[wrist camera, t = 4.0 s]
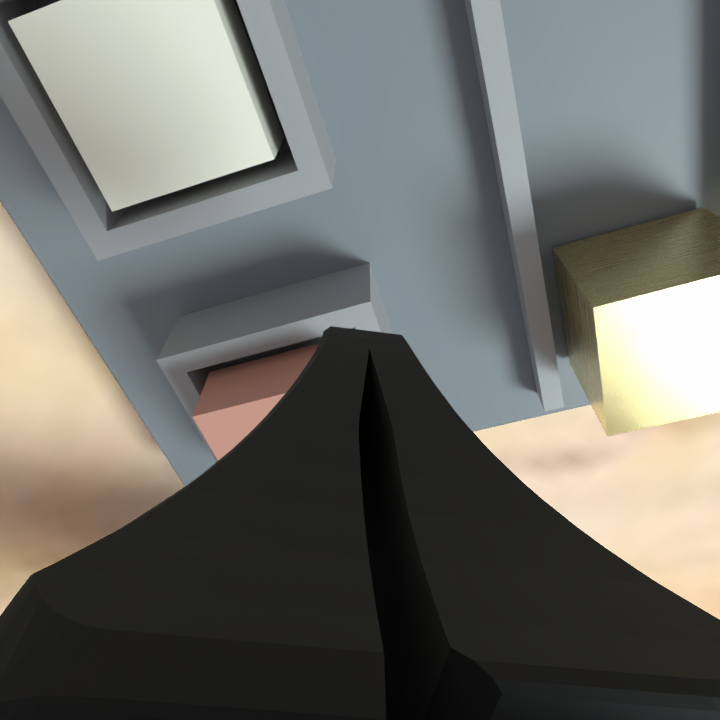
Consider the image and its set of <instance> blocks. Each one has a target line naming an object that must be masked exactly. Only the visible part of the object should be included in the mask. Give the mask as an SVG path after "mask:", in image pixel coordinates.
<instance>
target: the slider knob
mask: <svg viewBox="0 0 720 720" xmlns="http://www.w3.org/2000/svg"><path fill="white" fill-rule="evenodd" d="M553 254H554V261H555V267H556V274H557V281H558V288H559V295H560V302H561V309H562V316H563V323H564V330H565V337H566V344H567V351H568V358H569V364H570V366H571V367H572V369H573V371H574V373H575V375H576V377H577V379H578V381H579V383H580V385H581V387H582V388H583V390H584V392H585V394H586V396H587V398H588V400H589V402H590V404H591V406H592V408H593V409H594V411H595V413H596V415H597V417H598V419H599V421H600V423H601V425H602V427H603V429H604V430H605V432H606V434H607V436H612V435H616V434H621V433H625V432H630V431H634V430H639V429H644V428H648V427H653V426H657V425H662V424H666V423H671V422H675V421H680V420H684V419H689V418H693V417H698V416H703V415H707V414H712V413H716V412H720V217H718V216H717V215H715V214H714V213H713V212H711V211H710V210H708V209H707V208H705V207H701V208H697V209H693V210H690V211H686V212H682V213H679V214H675V215H672V216H668V217H664V218H661V219H657V220H653V221H650V222H646V223H642V224H639V225H635V226H632V227H628V228H624V229H621V230H617V231H613V232H610V233H606V234H602V235H599V236H595V237H591V238H588V239H584V240H581V241H577V242H573V243H570V244H566V245H562V246H559V247H555V248H553Z"/></svg>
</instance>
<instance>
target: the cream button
mask: <svg viewBox="0 0 720 720" xmlns="http://www.w3.org/2000/svg"><path fill="white" fill-rule="evenodd" d="M8 23H9V25H10V26H11V28H12V30H13V32H14V34H15V36H16V37H17V39H18V41H19V43H20V45H21V47H22V48H23V50H24V52H25V54H26V56H27V57H28V59H29V61H30V63H31V65H32V67H33V68H34V70H35V72H36V74H37V76H38V78H39V79H40V81H41V83H42V85H43V87H44V88H45V90H46V92H47V94H48V96H49V98H50V99H51V101H52V103H53V105H54V107H55V108H56V110H57V112H58V114H59V116H60V118H61V119H62V121H63V123H64V125H65V127H66V129H67V130H68V132H69V134H70V136H71V138H72V139H73V141H74V143H75V145H76V147H77V149H78V150H79V152H80V154H81V156H82V158H83V159H84V161H85V163H86V165H87V167H88V169H89V170H90V172H91V174H92V176H93V178H94V180H95V181H96V183H97V185H98V187H99V189H100V190H101V192H102V194H103V196H104V198H105V200H106V201H107V203H108V205H109V207H110V209H111V211H112V212H113V211H116V210H119V209H122V208H125V207H128V206H131V205H135V204H138V203H141V202H144V201H147V200H150V199H153V198H156V197H159V196H162V195H166V194H169V193H172V192H175V191H178V190H181V189H184V188H187V187H190V186H193V185H196V184H200V183H203V182H206V181H209V180H212V179H215V178H218V177H221V176H224V175H227V174H230V173H234V172H237V171H240V170H243V169H246V168H249V167H252V166H255V165H258V164H261V163H265V162H268V161H271V160H274V159H275V157H276V155H277V153H278V150H279V148H280V146H281V144H282V142H283V140H284V136H283V133H282V130H281V127H280V125H279V122H278V119H277V116H276V114H275V111H274V108H273V105H272V103H271V100H270V97H269V94H268V92H267V89H266V86H265V83H264V81H263V78H262V75H261V72H260V70H259V67H258V64H257V61H256V59H255V56H254V53H253V50H252V48H251V45H250V42H249V39H248V37H247V34H246V31H245V28H244V26H243V23H242V20H241V17H240V15H239V12H238V9H237V6H236V4H235V1H234V0H60V1H58V2H55V3H53V4H50V5H48V6H45V7H43V8H40V9H38V10H35V11H32V12H30V13H27V14H25V15H22V16H20V17H17V18H15V19H12V20H10V21H8Z"/></svg>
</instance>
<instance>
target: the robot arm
mask: <svg viewBox="0 0 720 720" xmlns="http://www.w3.org/2000/svg"><path fill="white" fill-rule="evenodd" d="M0 720H720V620H719V619H717V618H716V617H714V616H712V615H711V614H709V613H707V612H705V611H704V610H702V609H700V608H699V607H697V606H695V605H694V604H692V603H690V602H689V601H687V600H685V599H684V598H682V597H680V596H678V595H677V594H675V593H673V592H672V591H670V590H668V589H667V588H665V587H663V586H662V585H660V584H658V583H657V582H655V581H654V580H652V579H650V578H649V577H647V576H646V575H644V574H643V573H641V572H640V571H638V570H637V569H636V568H634V567H633V566H631V565H630V564H628V563H627V562H625V561H624V560H622V559H621V558H619V557H618V556H616V555H615V554H613V553H612V552H610V551H609V550H607V549H606V548H605V547H603V546H602V545H600V544H599V543H598V542H596V541H595V540H594V539H592V538H591V537H590V536H588V535H587V534H585V533H584V532H583V531H581V530H580V529H579V528H577V527H576V526H575V525H573V524H572V523H571V522H570V521H569V520H567V519H566V518H565V517H564V516H562V515H561V514H560V513H559V512H557V511H556V510H555V509H554V508H552V507H551V506H550V505H549V504H547V503H546V502H545V501H544V500H542V499H541V498H540V497H539V496H538V495H537V494H535V493H534V492H533V491H532V490H531V489H530V488H529V487H527V486H526V485H525V484H524V483H523V482H522V481H521V480H520V479H519V478H518V477H517V476H515V475H514V474H513V473H512V472H511V471H510V470H509V469H508V468H507V467H506V466H505V465H504V464H503V463H502V462H501V461H500V460H499V459H498V458H497V457H496V456H495V455H494V454H493V453H492V452H491V451H490V450H489V449H488V448H487V447H486V446H485V445H484V444H483V443H482V442H481V441H480V440H479V438H478V437H477V436H476V435H475V434H474V433H473V431H472V430H471V429H470V428H469V427H468V426H467V425H466V423H465V422H464V421H463V420H462V419H461V418H460V416H459V415H458V414H457V413H456V411H455V410H454V409H453V408H452V406H451V405H450V404H449V402H448V401H447V400H446V398H445V397H444V396H443V394H442V393H441V392H440V390H439V389H438V387H437V386H436V385H435V383H434V382H433V380H432V379H431V378H430V376H429V375H428V373H427V372H426V370H425V369H424V367H423V366H422V364H421V363H420V361H419V360H418V358H417V357H416V355H415V353H414V352H413V350H412V349H411V347H410V346H409V344H408V343H407V341H406V340H405V338H404V337H403V336H402V335H399V334H391V333H383V332H375V331H367V330H358V329H350V328H342V327H334V326H330V327H329V328H328V329H326V330H325V331H323V335H322V338H321V341H320V343H319V345H318V347H317V349H316V351H315V352H314V354H313V356H312V357H311V359H310V361H309V362H308V364H307V365H306V367H305V368H304V369H303V371H302V372H301V374H300V375H299V376H298V378H297V379H296V381H295V382H294V383H293V385H292V386H291V387H290V389H289V390H288V391H287V392H286V394H285V395H284V396H283V397H282V398H281V399H280V401H279V402H278V403H277V404H276V405H275V406H274V407H273V409H272V410H271V411H270V412H269V413H268V414H267V416H266V417H265V418H264V419H263V420H262V421H261V422H260V423H259V424H258V425H257V426H256V427H255V428H254V429H253V430H252V431H251V432H250V433H249V434H248V435H247V436H246V437H245V438H244V439H243V440H241V441H240V442H239V443H238V444H237V445H236V446H235V447H234V448H233V449H232V450H230V451H229V452H228V453H227V454H226V455H225V456H223V457H222V458H221V459H220V460H218V461H217V462H216V463H215V464H214V465H212V466H211V467H210V468H209V469H207V470H206V471H205V472H204V473H202V474H201V475H200V476H199V477H197V478H196V479H195V480H193V481H192V482H191V483H189V484H188V485H187V486H185V487H184V488H182V489H181V490H180V491H178V492H177V493H175V494H174V495H172V496H170V497H169V498H167V499H166V500H164V501H163V502H161V503H160V504H158V505H157V506H155V507H154V508H152V509H151V510H149V511H147V512H146V513H144V514H143V515H141V516H140V517H138V518H137V519H135V520H134V521H132V522H131V523H129V524H127V525H126V526H124V527H122V528H121V529H119V530H117V531H116V532H114V533H112V534H110V535H108V536H106V537H104V538H103V539H101V540H99V541H97V542H95V543H93V544H91V545H89V546H87V547H85V548H83V549H81V550H79V551H78V552H76V553H74V554H72V555H70V556H68V557H66V558H64V559H62V560H60V561H58V562H56V563H54V564H53V565H50V566H48V567H46V568H44V569H42V570H40V571H38V572H36V573H34V574H32V575H31V576H30V577H29V578H28V580H27V581H26V582H25V584H24V585H23V586H22V588H21V589H20V590H19V592H18V593H17V594H16V596H15V597H14V598H13V600H12V601H11V602H10V604H9V605H8V606H7V608H6V609H5V610H4V612H3V613H2V614H1V616H0Z"/></svg>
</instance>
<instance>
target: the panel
mask: <svg viewBox="0 0 720 720" xmlns="http://www.w3.org/2000/svg"><path fill="white" fill-rule="evenodd" d="M58 1H60V0H0V201H1V202H2V204H3V206H4V207H5V209H6V210H7V212H8V213H9V215H10V216H11V218H12V219H13V221H14V223H15V224H16V226H17V227H18V229H19V230H20V232H21V233H22V235H23V237H24V238H25V240H26V241H27V243H28V244H29V246H30V247H31V249H32V250H33V252H34V254H35V255H36V257H37V258H38V260H39V261H40V263H41V264H42V266H43V267H44V269H45V271H46V272H47V274H48V275H49V277H50V278H51V280H52V281H53V283H54V284H55V286H56V288H57V289H58V291H59V292H60V294H61V295H62V297H63V298H64V300H65V302H66V303H67V305H68V306H69V308H70V309H71V311H72V312H73V314H74V315H75V317H76V319H77V320H78V322H79V323H80V325H81V326H82V328H83V329H84V331H85V332H86V334H87V336H88V337H89V339H90V340H91V342H92V343H93V345H94V346H95V348H96V349H97V351H98V353H99V354H100V356H101V357H102V359H103V360H104V362H105V363H106V365H107V367H108V368H109V370H110V371H111V373H112V374H113V376H114V377H115V379H116V380H117V382H118V384H119V385H120V387H121V388H122V390H123V391H124V393H125V394H126V396H127V397H128V399H129V401H130V402H131V404H132V405H133V407H134V408H135V410H136V411H137V413H138V415H139V416H140V418H141V419H142V421H143V422H144V424H145V425H146V427H147V428H148V430H149V432H150V433H151V435H152V436H153V438H154V439H155V441H156V442H157V444H158V445H159V447H160V449H161V450H162V452H163V453H164V455H165V456H166V458H167V459H168V461H169V462H170V464H171V466H172V467H173V469H174V470H175V472H176V473H177V475H178V476H179V478H180V480H181V481H182V483H183V484H184V486H187V485H188V484H189V483H191V482H192V481H193V480H195V479H196V478H197V477H199V476H200V475H201V474H202V473H204V472H205V471H206V470H207V469H209V468H210V467H211V466H212V465H214V464H215V463H216V462H217V461H218V460H217V458H216V456H215V455H214V453H213V451H212V449H211V448H210V446H209V444H208V443H207V441H206V439H205V437H204V436H203V434H202V432H201V431H200V429H199V427H198V426H197V424H196V422H195V420H194V419H193V417H192V416H193V414H194V411H195V409H196V406H197V403H198V401H199V398H200V395H201V393H202V390H203V388H204V385H205V382H206V380H207V377H208V374H209V372H212V371H216V370H219V369H223V368H227V367H231V366H234V365H238V364H242V363H246V362H250V361H253V360H257V359H261V358H265V357H268V356H272V355H276V354H280V353H283V352H287V351H291V350H295V349H298V348H302V347H306V346H310V345H313V344H317V343H320V341H321V338H322V335H323V331H325V330H326V329H328V328H329V327H330V326H334V327H342V328H350V329H358V330H367V331H375V332H383V333H391V334H399V335H402V336H403V337H404V338H405V340H406V341H407V343H408V344H409V346H410V347H411V349H412V350H413V352H414V353H415V355H416V357H417V358H418V360H419V361H420V363H421V364H422V366H423V367H424V369H425V370H426V372H427V373H428V375H429V376H430V378H431V379H432V380H433V382H434V383H435V385H436V386H437V387H438V389H439V390H440V392H441V393H442V394H443V396H444V397H445V398H446V400H447V401H448V402H449V404H450V405H451V406H452V408H453V409H454V410H455V411H456V413H457V414H458V415H459V416H460V418H461V419H462V420H463V421H464V422H465V423H466V425H467V426H468V427H469V428H470V429H471V430H472V431H477V430H482V429H486V428H490V427H495V426H499V425H503V424H508V423H512V422H516V421H521V420H525V419H529V418H534V417H538V416H542V415H547V414H551V413H556V412H560V411H564V410H569V409H573V408H577V407H582V406H586V405H590V402H589V400H588V398H587V396H586V394H585V392H584V390H583V388H582V387H581V385H580V383H579V381H578V379H577V377H576V375H575V373H574V371H573V369H572V367H571V366H570V364H569V358H568V351H567V344H566V337H565V330H564V323H563V316H562V309H561V302H560V295H559V288H558V281H557V274H556V267H555V261H554V254H553V248H555V247H559V246H562V245H566V244H570V243H573V242H577V241H581V240H584V239H588V238H591V237H595V236H599V235H602V234H606V233H610V232H613V231H617V230H621V229H624V228H628V227H632V226H635V225H639V224H642V223H646V222H650V221H653V220H657V219H661V218H664V217H668V216H672V215H675V214H679V213H682V212H686V211H690V210H693V209H697V208H701V207H705V208H707V209H708V210H710V211H711V212H713V213H714V214H715V215H717V216H718V217H720V0H234V1H235V4H236V6H237V9H238V12H239V15H240V17H241V20H242V23H243V26H244V28H245V31H246V34H247V37H248V39H249V42H250V45H251V48H252V50H253V53H254V56H255V59H256V61H257V64H258V67H259V70H260V72H261V75H262V78H263V81H264V83H265V86H266V89H267V92H268V94H269V97H270V100H271V103H272V105H273V108H274V111H275V114H276V116H277V119H278V122H279V125H280V127H281V130H282V133H283V136H284V140H283V142H282V144H281V146H280V148H279V150H278V153H277V155H276V157H275V159H274V160H271V161H268V162H265V163H261V164H258V165H255V166H252V167H249V168H246V169H243V170H240V171H237V172H234V173H230V174H227V175H224V176H221V177H218V178H215V179H212V180H209V181H206V182H203V183H200V184H196V185H193V186H190V187H187V188H184V189H181V190H178V191H175V192H172V193H169V194H166V195H162V196H159V197H156V198H153V199H150V200H147V201H144V202H141V203H138V204H135V205H131V206H128V207H125V208H122V209H119V210H116V211H113V212H112V211H111V209H110V207H109V205H108V203H107V201H106V200H105V198H104V196H103V194H102V192H101V190H100V189H99V187H98V185H97V183H96V181H95V180H94V178H93V176H92V174H91V172H90V170H89V169H88V167H87V165H86V163H85V161H84V159H83V158H82V156H81V154H80V152H79V150H78V149H77V147H76V145H75V143H74V141H73V139H72V138H71V136H70V134H69V132H68V130H67V129H66V127H65V125H64V123H63V121H62V119H61V118H60V116H59V114H58V112H57V110H56V108H55V107H54V105H53V103H52V101H51V99H50V98H49V96H48V94H47V92H46V90H45V88H44V87H43V85H42V83H41V81H40V79H39V78H38V76H37V74H36V72H35V70H34V68H33V67H32V65H31V63H30V61H29V59H28V57H27V56H26V54H25V52H24V50H23V48H22V47H21V45H20V43H19V41H18V39H17V37H16V36H15V34H14V32H13V30H12V28H11V26H10V25H9V23H8V21H10V20H12V19H15V18H17V17H20V16H22V15H25V14H27V13H30V12H32V11H35V10H38V9H40V8H43V7H45V6H48V5H50V4H53V3H55V2H58Z"/></svg>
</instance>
